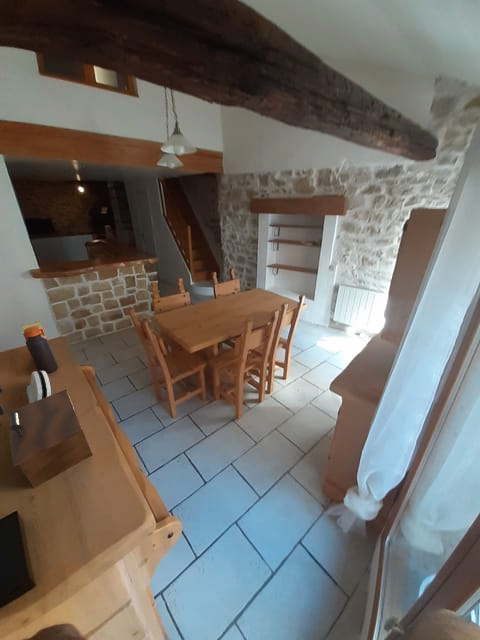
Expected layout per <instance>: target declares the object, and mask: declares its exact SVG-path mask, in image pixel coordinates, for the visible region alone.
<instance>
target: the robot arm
mask: <svg viewBox="0 0 480 640" xmlns="http://www.w3.org/2000/svg"><path fill="white" fill-rule="evenodd" d="M0 393H3V388H2V386H1V385H0ZM3 415H5V410H4V409H3V407H2V405H1V404H0V417H1V416H3Z"/></svg>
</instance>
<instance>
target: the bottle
mask: <svg viewBox="0 0 480 640" xmlns="http://www.w3.org/2000/svg"><path fill="white" fill-rule="evenodd" d="M24 334H25V336H26V337H27V338H28V339H27V341H26V340H25V345H26V348H27V350H28V352H29V354H30V356H31V359H32V360H33V363H34V365H35V367H36V369H37V372H38V373H39V372H40V371H45V372H46V373H47V375H49V374H50V375H51V374H52V373H54V372H56V371H57V370H58V369H59V365H58V363H57V360H56V357H55V355H54V353H53V350H52V348H51V345H50V343H49V341H48V338H47V337H45V336H46V335H45V336H43V335H41V331H40V328H39V327H37V326H34V327H29V328H27V329H25V330H24Z"/></svg>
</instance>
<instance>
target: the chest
mask: <svg viewBox="0 0 480 640" xmlns="http://www.w3.org/2000/svg"><path fill="white" fill-rule="evenodd" d="M70 400H71V401H72V399H71V398H70ZM72 405H73V406H74V403H72ZM74 410H75V412H76V415H77V418H78V420H79V423H80V425H81V422H80V419H79V416H78V414H77V411H76V409H75V408H74ZM81 428H82V430H83V432H81V433H79V434H77V435H75V436H73V437H71V438H69V439H67V440H65V441H63V442H61V443H59V444H57V445H55V446H53V447H51V448H49V449H47V450H45V451H43V452H41V453H39V454H37V455H35V456H34V457H32V458H30V459H28V460H26V461H24V462H22V463H20V464H18V465H19V467H20V469H21V470H22V472H23V473H24V475H25V476H26V478H27V479H28V481H29V483H30V484H31V486H32V487H33V488H34V489H35V488H37V487H39V486H41V485H42V484H44V483H46V482H47V481H49V480H51V479H53V478H55V477H56V476H58V475H60V474H62V473H63V472H65V471H67V470H68V469H71V468H72V467H74V466H76V465H77V464H80V462H83V461H84V460H86V459H88V458H90V457H92V456H93V453H92V450H91V447H90V445H89V442H88V439H87V437H86V435H85V432H84V429H83V427H82V425H81Z"/></svg>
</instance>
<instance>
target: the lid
mask: <svg viewBox="0 0 480 640" xmlns="http://www.w3.org/2000/svg"><path fill="white" fill-rule="evenodd" d="M70 399H71V396H70V395H69V392H68V390H67V389H66V388H65V389H63V390H61V391H58V392H55V393H53V394H51V396H48V397H46V398H43V399H41V400H38V401H36V402H33V403H31V404H30V403H28V404H25V405H23V406H20V407H19V408H16V409H13V410H11V411H8V412H7V416H8V428H9V429H8V430H9V440H10V450H11V462H12V466H13V467H15V466H17V465H19V464H20V463H22V462H24V461H26V460H28V459H30V458H32V457H34V456H35V455H37V454H39V453H41V452H43V451H45V450H47V449H49V448H51V447H53V446H55V445H57V444H59V443H61V442H63V441H65V440H67V439H69V438H71V437H73V436H75V435H77V434H79V433H81V432H84V429H83V427H82V425H80V424H81V422H80V419H79V417H78V414H77V411H76V409H75V406H74V404H73V402H72V399H71V400H70ZM72 404H73V405H72ZM74 409H75V410H74ZM75 411H76V412H75ZM76 414H77V415H76ZM77 417H78V418H77ZM78 419H79V420H78ZM79 422H80V423H79ZM81 427H82V428H81ZM82 429H83V430H82Z"/></svg>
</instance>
